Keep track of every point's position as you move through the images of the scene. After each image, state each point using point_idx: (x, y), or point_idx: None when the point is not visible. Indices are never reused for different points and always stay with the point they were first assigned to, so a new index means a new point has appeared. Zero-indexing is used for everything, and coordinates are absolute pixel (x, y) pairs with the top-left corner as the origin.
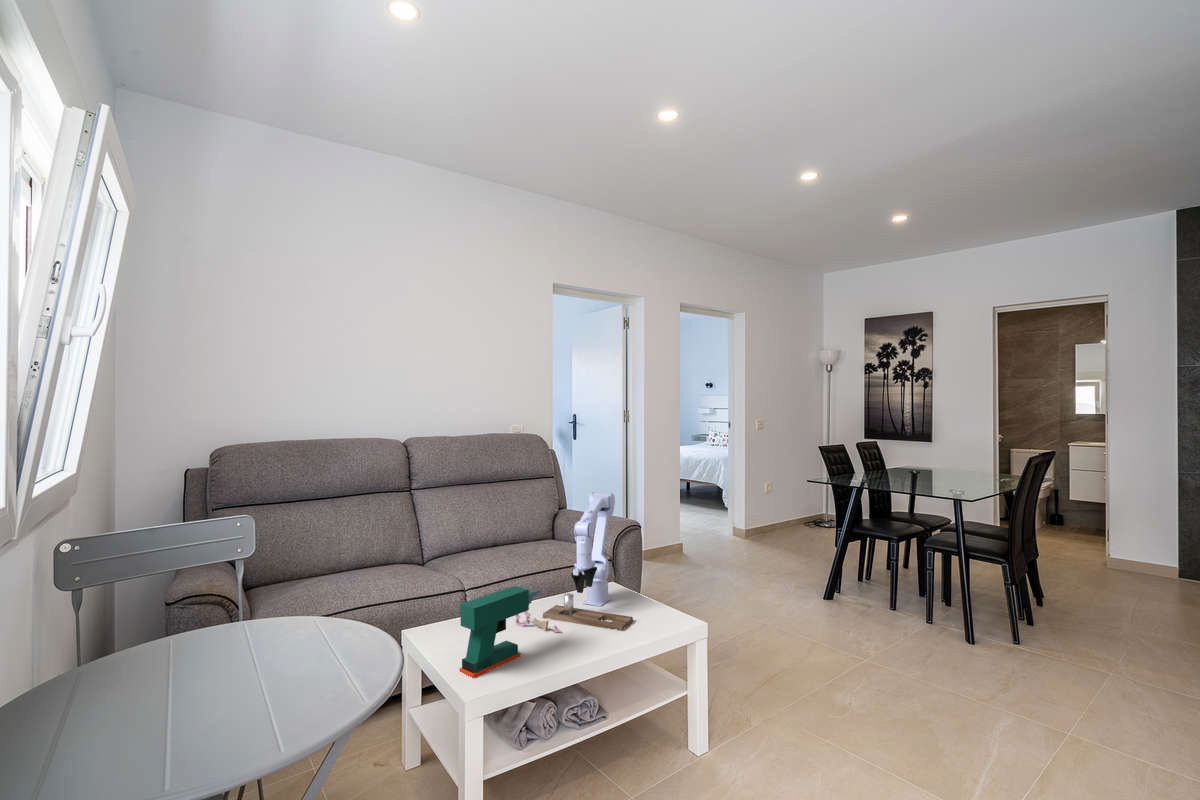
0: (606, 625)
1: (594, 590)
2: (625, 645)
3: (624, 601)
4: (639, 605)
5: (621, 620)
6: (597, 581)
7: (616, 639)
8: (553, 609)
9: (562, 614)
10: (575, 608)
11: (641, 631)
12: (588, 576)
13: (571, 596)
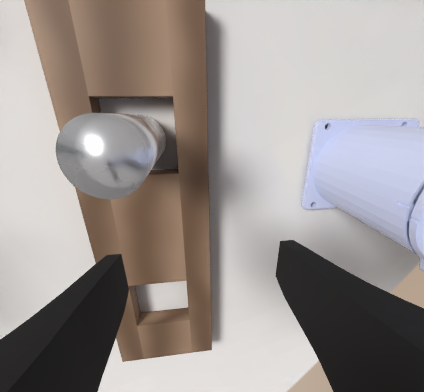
0: None
1: (359, 202)
2: None
3: (369, 251)
4: None
5: (167, 341)
6: (416, 248)
7: None
8: (128, 25)
9: None
10: (202, 146)
11: (152, 376)
12: (338, 338)
13: (94, 196)
